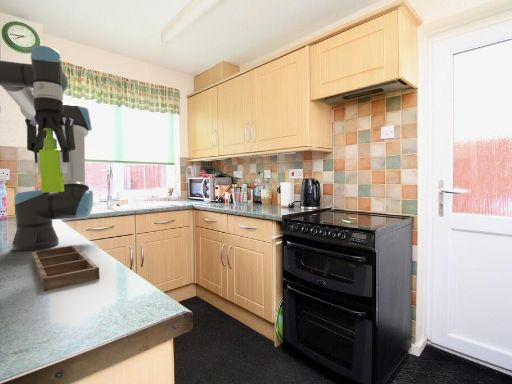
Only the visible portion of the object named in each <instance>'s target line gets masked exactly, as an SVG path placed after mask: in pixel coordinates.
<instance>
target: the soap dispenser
mask: <svg viewBox="0 0 512 384" xmlns="http://www.w3.org/2000/svg"><path fill="white" fill-rule="evenodd" d="M43 130H46V134H47V136H46V138H44V139H43V140H44V148H43V149H41V150H39V156H40V172H41V174H40V182H41V183H40V187H41V189H42V192H64V177H63V173H60V165H59V152H61V151H60V150H61V149H58V140H57V138H55V137H54V131H53V130H52V129H51V128H43ZM63 132H64V131H63Z"/></svg>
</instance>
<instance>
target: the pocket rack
mask: <svg viewBox="0 0 512 384" xmlns="http://www.w3.org/2000/svg"><path fill="white" fill-rule="evenodd" d="M31 261H32V263H33V265H34V269H35V272H36V274H37V276H38V279H39V281H40V284H41V287H42V290H43V292H46V291H51V290H55V289H59V288H63V287H68V285H69V286H72V284H73V285H77V284H81V282H82V283H86V282H89V281H94V280H99V279H101V278H100V267H99V266H98V265H97V264H95V262H93V261H92V260H91V259H90V258H89V257H88V256H87V255H86V254H85V253H84V252H82V251H81V249H79V248H78V247H77V246H76V245H75V244H74V245H68V246H62V247H54V248H49V249H48V248H46V249H40V250H36V251H34V250H33V251H31ZM76 283H77V284H76Z"/></svg>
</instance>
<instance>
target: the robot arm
mask: <svg viewBox="0 0 512 384" xmlns="http://www.w3.org/2000/svg"><path fill="white" fill-rule="evenodd" d="M30 60H31V61H30V62H31V63H24V62H23V63H22V62H15V61H7V60H0V86H1V88H3V90H5V92H6V93H7V94H8V96H10V98H12V100H13V101H14V102H15V104H17V106H18V107H19V109H20V112H21V114H22V115H23V116H24V117H25V118H24V119H25V120H24V121H25V125H26V150H27V151H30V152H33V153H34V163H36V164H37V173H38V174H39V175H41V172H40V156H39V150H41V149H44V140H43V139H44V138H47V134H46V130H43V128H51V129H52V130H53V133H54V135H55V137H56V138H55V139H57V144H58V145H59V147H60V148H59V150H60V151H61V152H59V165H60V173H63V177H64V192H42V189H35V190H34V189H33V190H27V191H20V192H17V193H16V194H15V196H14V208H15V209H14V211H15V212H14V213H15V223H16V232H15V235H14V237H13V241H12V244H11V246H12V247H11V248H12V250H13V251H17V252H22V251H23V252H25V251H34V250H36V251H38V250H44V249H48V248H51V247H55V246H57V245H58V244H60V243H59V237H58V235H57V232H56V231H55V227H54V225H53V220H65V219H66V220H68V219H81V218H87V217H89V216H90V215H91V212H92V209H93V201H94V192H93V190H91V189H90V187H89V185H87V184H86V168H85V167H86V166H85V165H86V164H85V162H86V158H85V156H86V155H85V154H86V153H85V150H86V149H85V137H87V136H88V134H89V132H90V131H92V122H91V117H90V112H89V108H88V106H86V105H83V104H77V103H75V104H71V103H64V102H63V100H64V92H65V91H66V90H68V87H69V81H68V77H67V75H66V73H65V72H64V70H63V68H62V58H61V54H60V51H58V50H57V49H55V48H53V47H50V46H45V45H34V46H32V48H31V50H30ZM37 125H38V126H37ZM63 131H64V132H63Z"/></svg>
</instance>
